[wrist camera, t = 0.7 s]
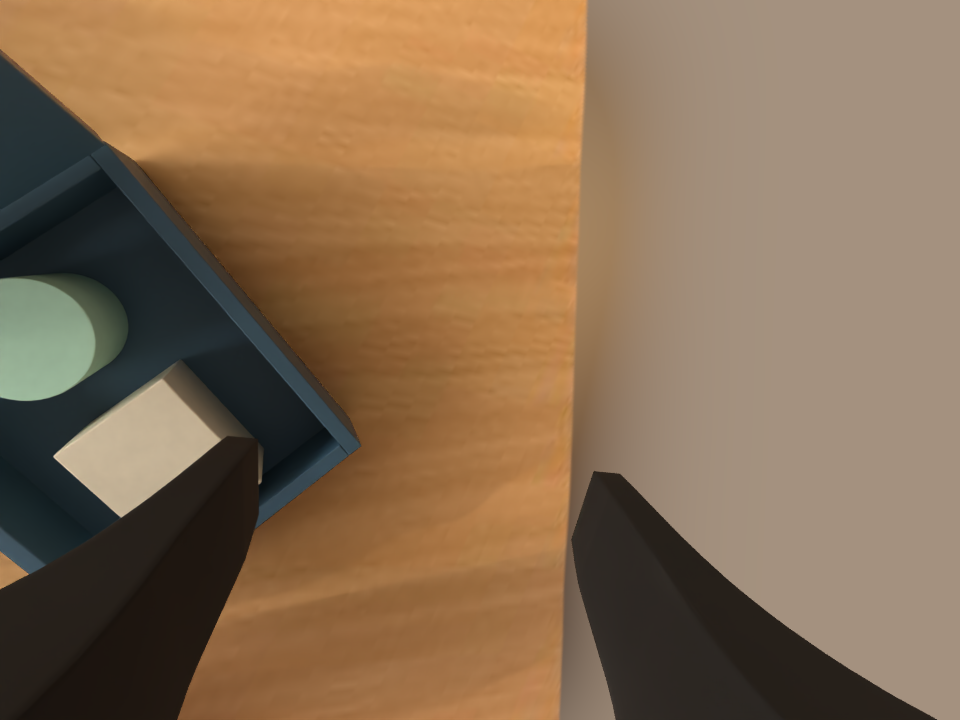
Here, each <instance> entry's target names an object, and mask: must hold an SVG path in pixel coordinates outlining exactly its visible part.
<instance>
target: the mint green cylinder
mask: <svg viewBox="0 0 960 720" xmlns="http://www.w3.org/2000/svg"><path fill="white" fill-rule="evenodd" d="M127 336H128V319H127V315H126V312H125V310H124V307H123V305H122V304H121V302H120V301H119V299H118V298H117V297H116V296H115V294H114V293H113V292H112V291H110V290H109V289H108V288H107V287H105V286H104V285H103V284H101V283H99V282H98V281H96V280H93V279H91V278H89V277H86V276H82V275H78V274H72V273H53V274H42V275H31V276H20V277H9V278H1V279H0V397H2V398H6V399H11V400H19V401H32V400H41V399H46V398H50V397H53V396H56V395H59V394H61V393H63V392H65V391H67V390H69V389H70V388H72V387H74V386H75V385H77V384H78V383H80V382H81V381H83V380H84V379H86V378H87V377H89V376H90V375H92V374H93V373H95V372H97V371H98V370H100V369H101V368H103V367H104V366H106V365H107V364H109V363H110V362H111V361H113V360H114V359H115V358H116V357H117V356H118V355H119V353H120V352H121V350H122V349H123V347H124V345H125V343H126V340H127Z"/></svg>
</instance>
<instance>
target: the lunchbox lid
mask: <svg viewBox="0 0 960 720" xmlns="http://www.w3.org/2000/svg"><path fill="white" fill-rule="evenodd" d="M104 145H105V144H104V142H103V141H102V139H101V138H100V137H99V136H98V134H97V133H96V132H95V131H94V130H92V129H91V128H90V127H89V126H88V125H87V124H86V123H84V122H83V121H82V120H81V119H80V118H79V117H78V116H76V115H75V114H74V113H73V112H72V111H71V110H70V109H68V108H67V107H66V106H65V105H64V104H63V103H61V102H60V101H59V100H58V99H57V98H56V97H55V96H53V95H52V94H51V93H50V92H49V91H48V90H47V89H45V88H44V87H43V86H42V85H41V84H40V83H39V82H37V81H36V80H35V79H34V78H33V77H32V76H30V75H29V74H28V73H27V72H26V71H25V70H24V69H22V68H21V67H20V66H19V65H18V64H17V63H16V62H14V61H13V60H12V59H11V58H10V57H9V56H8V55H6V54H5V53H4V52H3V51H2V50H1V49H0V210H1V209H3V208H5V207H6V206H8V205H9V204H11V203H13V202H14V201H16V200H18V199H19V198H21V197H22V196H24V195H26V194H27V193H29V192H30V191H32V190H34V189H35V188H37V187H39V186H40V185H42V184H43V183H45V182H47V181H48V180H50V179H51V178H53V177H55V176H56V175H58V174H60V173H61V172H63V171H64V170H66V169H68V168H69V167H71V166H72V165H74V164H76V163H77V162H79V161H81V160H82V159H84V158H85V157H87V156H89V155H90V154H92V153H94V152H95V151H97V150H98V149H100V148H102V147H103V146H104Z"/></svg>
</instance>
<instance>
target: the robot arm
mask: <svg viewBox="0 0 960 720" xmlns="http://www.w3.org/2000/svg"><path fill="white" fill-rule="evenodd" d="M258 516H259V474H258V439H256V438H245V437H235V436H226V437H225V438H224V439H222V440H221V441H220V442H218V443H217V444H216V445H215V446H213V447H212V448H211V449H210V450H208V451H207V452H206V453H205V454H204V455H202V456H201V457H200V458H199V459H198V460H196V461H195V462H194V463H193V464H191V465H190V466H189V467H188V468H186V469H185V470H184V471H183V472H181V473H180V474H179V475H178V476H177V477H175V478H174V479H173V480H171V481H170V482H169V483H167V484H166V485H165V486H164V487H162V488H161V489H160V490H158V491H157V492H156V493H154V494H153V495H152V496H151V497H149V498H148V499H147V500H145V501H144V502H143V503H141V504H140V505H138V506H137V507H136V508H134V509H133V510H131V511H130V512H128V513H127V514H126V515H124V516H123V517H121V518H120V519H118V520H117V521H116V522H114V523H113V524H111V525H110V526H108V527H107V528H106V529H104V530H103V531H101V532H100V533H98V534H97V535H95V536H94V537H92V538H90V539H89V540H87V541H86V542H84V543H83V544H81V545H79V546H78V547H76V548H74V549H73V550H71V551H69V552H68V553H66V554H64V555H63V556H61V557H59V558H58V559H56V560H54V561H52V562H51V563H49V564H47V565H46V566H44V567H42V568H40V569H38V570H37V571H35V572H33V573H31V574H29V575H27V576H25V577H23V578H21V579H19V580H18V581H16V582H14V583H12V584H10V585H8V586H6V587H4V588H2V589H0V720H177V719H178V716H179V713H180V710H181V707H182V704H183V701H184V699H185V696H186V693H187V690H188V687H189V685H190V682H191V680H192V677H193V675H194V673H195V670H196V668H197V665H198V663H199V661H200V658H201V656H202V654H203V652H204V650H205V647H206V645H207V643H208V641H209V639H210V636H211V634H212V632H213V630H214V628H215V625H216V623H217V621H218V619H219V617H220V614H221V612H222V610H223V608H224V606H225V603H226V601H227V599H228V597H229V594H230V592H231V590H232V588H233V586H234V583H235V581H236V579H237V577H238V574H239V572H240V570H241V568H242V565H243V563H244V561H245V558H246V555H247V552H248V549H249V545H250V542H251V539H252V536H253V533H254V529H255V526H256V523H257V519H258ZM572 546H573V554H574V561H575V568H576V573H577V579H578V584H579V588H580V592H581V595H582V599H583V602H584V605H585V609H586V612H587V616H588V619H589V623H590V626H591V629H592V633H593V636H594V640H595V643H596V646H597V650H598V653H599V657H600V660H601V663H602V667H603V670H604V673H605V677H606V680H607V684H608V688H609V692H610V696H611V700H612V704H613V709H614V714H615V718H616V720H937V719H935V718H933V717H931V716H930V715H928V714H926V713H924V712H922V711H920V710H919V709H917V708H915V707H913V706H911V705H909V704H907V703H906V702H904V701H902V700H900V699H898V698H896V697H895V696H893V695H891V694H890V693H888V692H886V691H884V690H882V689H881V688H880V687H878V686H876V685H874V684H873V683H871V682H870V681H868V680H866V679H865V678H863V677H862V676H860V675H858V674H857V673H855V672H853V671H851V670H850V669H848V668H847V667H845V666H844V665H842V664H841V663H839V662H838V661H836V660H835V659H833V658H831V657H830V656H828V655H827V654H825V653H824V652H822V651H821V650H819V649H818V648H817V647H815V646H814V645H812V644H811V643H809V642H808V641H807V640H805V639H804V638H802V637H801V636H799V635H798V634H796V633H795V632H794V631H792V630H791V629H789V628H788V627H787V626H785V625H784V624H783V623H781V622H780V621H778V620H777V619H776V618H775V617H773V616H772V615H771V614H769V613H768V612H767V611H765V610H764V609H763V608H762V607H760V606H759V605H758V604H757V603H755V602H754V601H753V600H752V599H750V598H749V597H748V596H747V595H745V594H744V593H743V592H742V591H740V590H739V589H738V588H737V587H736V586H735V585H733V584H732V583H731V582H730V581H729V580H728V579H726V578H725V577H724V576H723V575H722V574H721V573H720V572H719V571H718V570H716V569H715V568H714V567H713V566H712V565H711V564H710V563H709V562H708V561H707V560H705V559H704V558H703V557H702V556H701V555H700V554H699V553H698V552H697V551H696V550H695V549H694V548H692V546H691V545H690V544H688V542H687V541H686V540H684V539H683V538H682V537H681V536H680V535H679V534H678V533H677V532H676V531H675V530H674V529H673V528H672V527H671V526H670V524H668V522H666V520H665V519H664V518H663V517H662V516H661V515H660V514H659V513H658V512H657V511H656V510H655V509H654V508H653V507H652V506H651V505H650V504H649V503H648V502H647V501H646V500H645V499H644V498H643V497H642V495H641V494H640V493H638V491H637V490H636V489H635V488H634V487H633V486H632V485H631V484H630V483H629V482H627V480H626V479H625V478H624V477H623V476H622V475H620V474H615V473H606V472H596V471H594V472H593V475H592V478H591V481H590V484H589V487H588V490H587V493H586V496H585V499H584V502H583V506H582V509H581V512H580V515H579V518H578V521H577V524H576V527H575V530H574V533H573V536H572Z"/></svg>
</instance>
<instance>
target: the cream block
mask: <svg viewBox="0 0 960 720" xmlns="http://www.w3.org/2000/svg"><path fill="white" fill-rule="evenodd" d="M226 436H235V437H245V438H254V437H253V436H252V435H251V434H250V433H249V432H248V431H247V430H246V428H245V427H244V426H243V425H242V424H241V423H240V422H239V421H238V420H237V419H236V418H235V417H234V416H233V414H232V413H231V412H230V411H229V410H228V409H227V408H226V407H225V406H224V405H223V404H222V403H221V402H220V400H219V399H218V398H217V397H216V396H215V395H214V394H213V393H212V392H211V391H210V390H209V389H208V388H207V387H206V385H205V384H204V383H203V382H202V381H201V380H200V379H199V378H198V377H197V376H196V375H195V374H194V373H193V371H192V370H191V369H190V368H189V367H188V366H187V365H186V364H185V363H184V362H183V361H182V360H178V361H177V362H175V363H174V364H173V365H171V366H170V367H168V368H167V369H166V370H164V371H163V372H161V373H160V374H159V375H157V376H156V377H154V378H153V379H151V380H150V381H149V382H147V383H146V384H144V385H143V386H142V387H140V388H139V389H137V390H136V391H134V392H133V393H132V394H130V395H129V396H127V397H126V398H125V399H123V400H122V401H120V402H119V403H117V404H116V405H115V406H113V407H112V408H110V409H109V410H108V411H106V412H105V413H103V414H102V415H100V416H99V417H98V418H96V419H95V420H93V421H92V422H91V423H89V424H88V425H87V426H86V427H85V428H84V429H83V430H81V431H80V432H79V433H78V434H77V435H76V436H75V437H74V438H73V439H72V440H70V441H69V442H68V443H67V444H66V445H65V446H64V447H63V448H62V449H60V450H59V451H58V452H57V453H56V454H55V455H54V458H55V459H56V460H57V461H58V462H59V463H60V464H62V465H63V466H64V467H65V468H66V469H67V470H68V471H69V472H70V473H72V474H73V475H74V476H75V477H76V478H77V479H78V480H79V481H81V482H82V483H83V484H84V485H85V486H86V487H87V488H88V489H89V490H91V491H92V492H93V493H94V494H95V495H96V496H97V497H98V498H100V499H101V500H102V501H103V502H104V503H105V504H106V505H107V506H108V507H110V508H111V509H112V510H113V511H114V512H115V513H116V514H117V515H119V516H120V517H123V516H124V515H126V514H127V513H128V512H130V511H131V510H133V509H134V508H136V507H137V506H138V505H140V504H141V503H143V502H144V501H145V500H147V499H148V498H149V497H151V496H152V495H153V494H154V493H156V492H157V491H158V490H160V489H161V488H162V487H164V486H165V485H166V484H167V483H169V482H170V481H171V480H173V479H174V478H175V477H177V476H178V475H179V474H180V473H181V472H183V471H184V470H185V469H186V468H188V467H189V466H190V465H191V464H193V463H194V462H195V461H196V460H198V459H199V458H200V457H201V456H202V455H204V454H205V453H206V452H207V451H208V450H210V449H211V448H212V447H213V446H215V445H216V444H217V443H218V442H220V441H221V440H222V439H224V438H225V437H226ZM263 456H264V448H263V447H262V446H261V445H260V444H259V442H258V474H259V484H260V483H261V482H262V469H263Z"/></svg>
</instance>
